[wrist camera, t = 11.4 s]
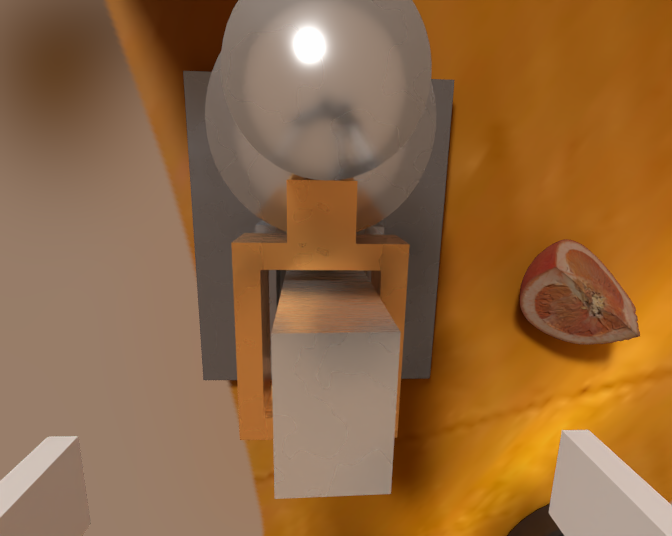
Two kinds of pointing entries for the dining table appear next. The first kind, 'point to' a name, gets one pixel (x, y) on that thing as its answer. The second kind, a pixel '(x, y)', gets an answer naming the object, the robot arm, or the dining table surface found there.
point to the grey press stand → (315, 176)
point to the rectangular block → (333, 386)
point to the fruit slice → (576, 297)
